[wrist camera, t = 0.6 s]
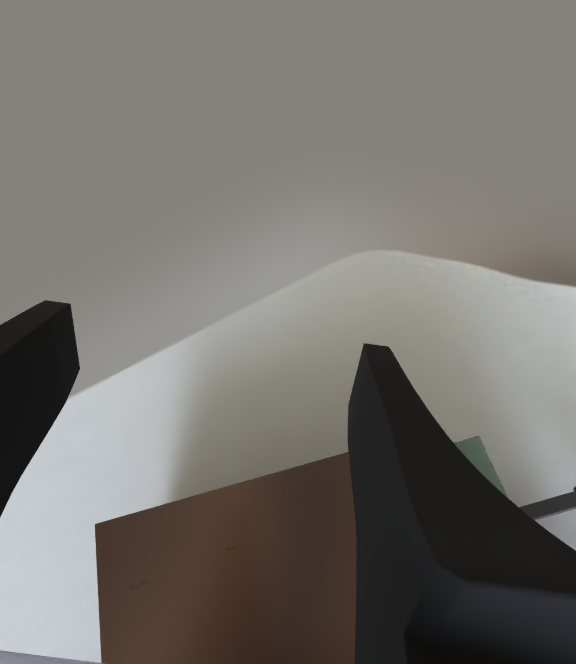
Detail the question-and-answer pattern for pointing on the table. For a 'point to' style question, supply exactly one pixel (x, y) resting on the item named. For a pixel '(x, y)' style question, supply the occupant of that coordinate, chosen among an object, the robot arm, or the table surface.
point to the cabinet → (235, 574)
